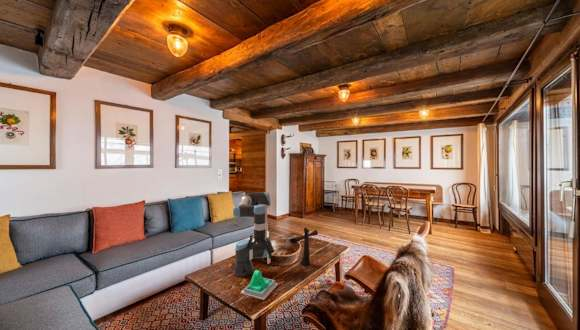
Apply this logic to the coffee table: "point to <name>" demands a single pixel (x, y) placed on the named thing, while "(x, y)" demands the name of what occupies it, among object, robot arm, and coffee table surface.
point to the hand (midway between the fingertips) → (259, 261)
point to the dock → (260, 294)
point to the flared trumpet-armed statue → (305, 245)
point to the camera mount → (258, 281)
